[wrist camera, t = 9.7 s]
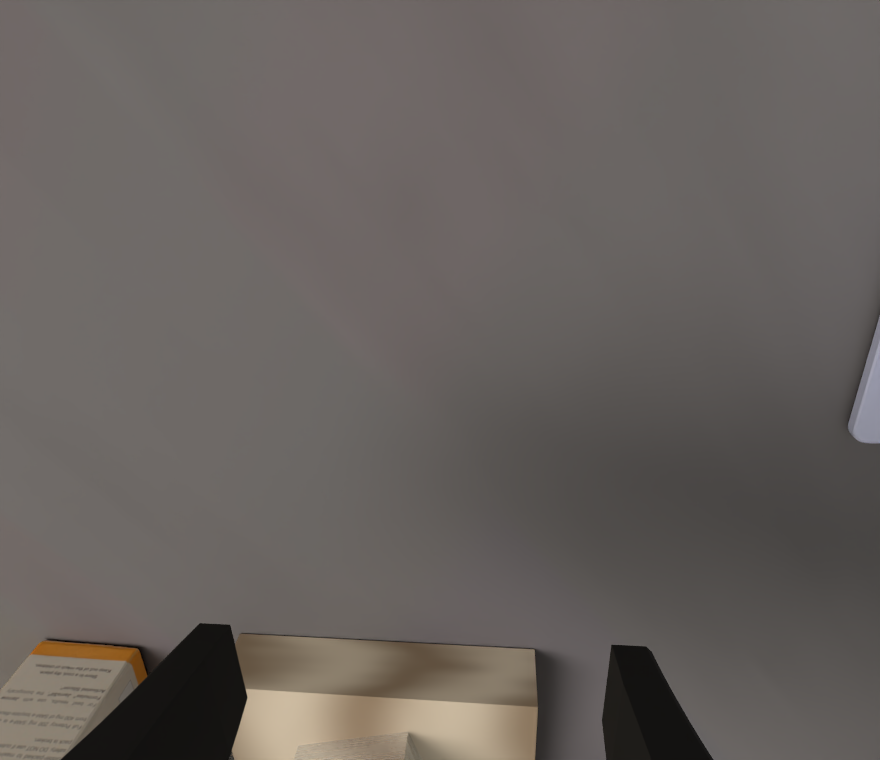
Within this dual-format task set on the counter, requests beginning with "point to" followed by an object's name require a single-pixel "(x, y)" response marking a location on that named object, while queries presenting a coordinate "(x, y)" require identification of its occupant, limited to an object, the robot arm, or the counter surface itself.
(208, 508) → the counter surface
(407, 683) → the stand
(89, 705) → the supplement box
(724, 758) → the counter surface
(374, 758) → the block
